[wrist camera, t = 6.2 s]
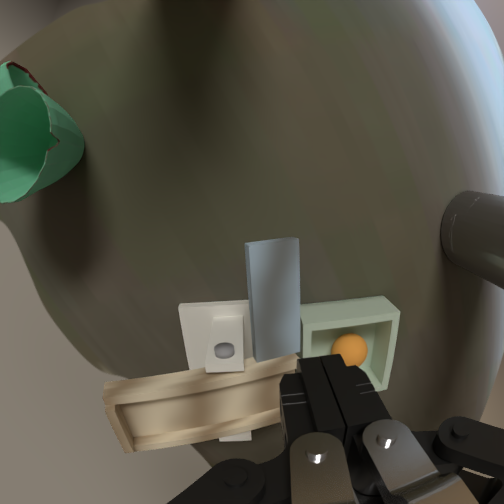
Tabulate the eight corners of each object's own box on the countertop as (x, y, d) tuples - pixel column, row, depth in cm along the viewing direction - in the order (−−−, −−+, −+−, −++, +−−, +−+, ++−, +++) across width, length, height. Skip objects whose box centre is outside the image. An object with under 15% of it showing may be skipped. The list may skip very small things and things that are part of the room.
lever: (292, 236, 24) (311, 243, 22) (294, 401, 28) (308, 419, 26) (72, 267, 19) (61, 279, 17) (127, 436, 24) (127, 458, 21)
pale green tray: (382, 295, 32) (400, 311, 28) (373, 368, 34) (386, 389, 30) (295, 304, 32) (303, 324, 28) (295, 380, 34) (301, 404, 30)
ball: (371, 345, 28) (331, 345, 29) (366, 377, 29) (329, 376, 30) (367, 326, 32) (332, 326, 33) (364, 356, 33) (330, 356, 34)
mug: (119, 162, 28) (68, 160, 18) (52, 209, 29) (-7, 225, 19) (75, 56, 24) (26, 26, 15) (15, 106, 25) (-40, 95, 16)
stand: (276, 297, 32) (288, 345, 22) (279, 387, 35) (288, 445, 25) (179, 303, 32) (158, 351, 22) (196, 392, 34) (186, 448, 25)
